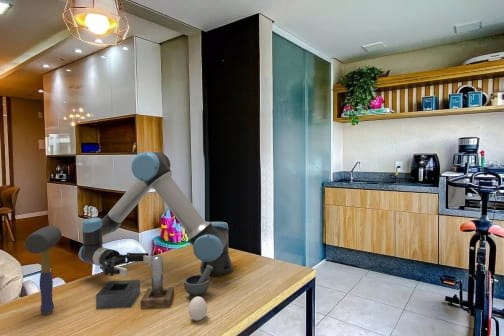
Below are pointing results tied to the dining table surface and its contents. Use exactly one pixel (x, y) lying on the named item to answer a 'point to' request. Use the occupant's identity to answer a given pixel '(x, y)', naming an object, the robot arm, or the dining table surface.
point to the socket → (118, 294)
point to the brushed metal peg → (157, 276)
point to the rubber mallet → (44, 262)
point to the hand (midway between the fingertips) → (141, 266)
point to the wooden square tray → (157, 299)
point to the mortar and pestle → (198, 284)
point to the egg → (197, 308)
